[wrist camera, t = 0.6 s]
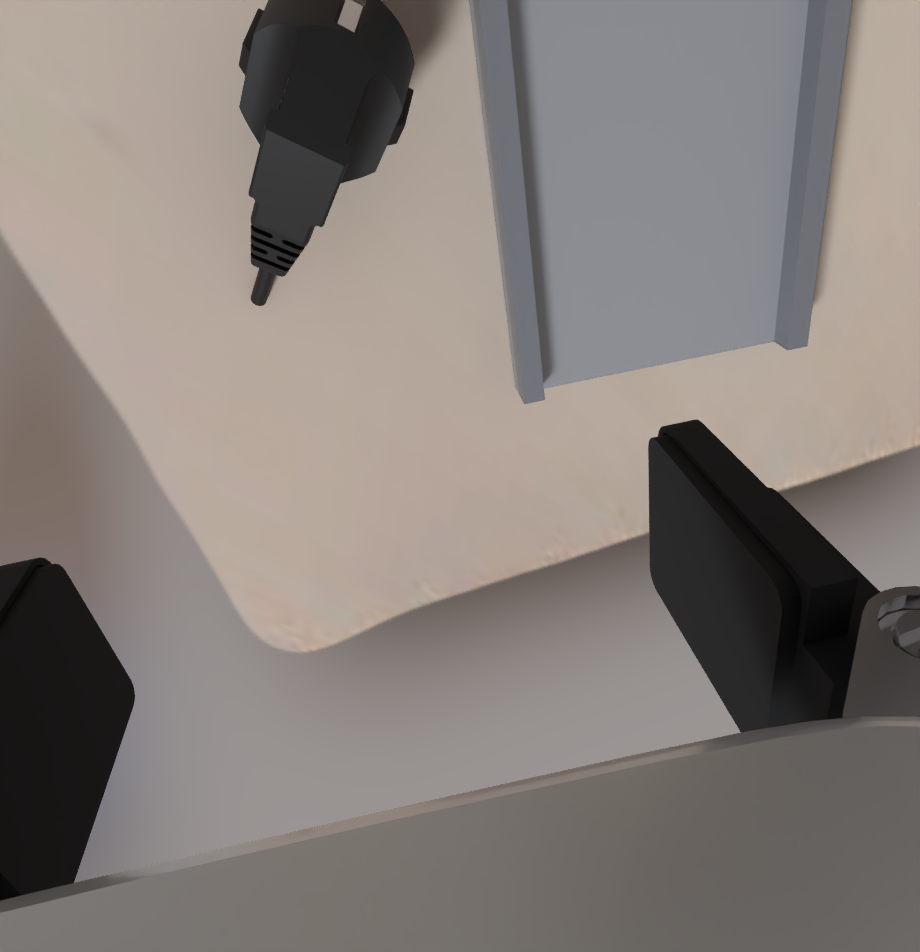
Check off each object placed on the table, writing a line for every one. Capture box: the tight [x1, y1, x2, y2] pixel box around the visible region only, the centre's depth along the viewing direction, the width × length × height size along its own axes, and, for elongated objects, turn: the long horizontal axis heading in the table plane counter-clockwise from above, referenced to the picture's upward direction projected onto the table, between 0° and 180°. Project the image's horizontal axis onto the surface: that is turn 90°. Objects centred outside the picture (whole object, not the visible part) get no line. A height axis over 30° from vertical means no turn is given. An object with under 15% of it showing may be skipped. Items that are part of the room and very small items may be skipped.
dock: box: [469, 0, 852, 404], centre depth 28 cm, size 19×14×2 cm
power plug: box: [239, 0, 414, 306], centre depth 26 cm, size 6×8×12 cm
